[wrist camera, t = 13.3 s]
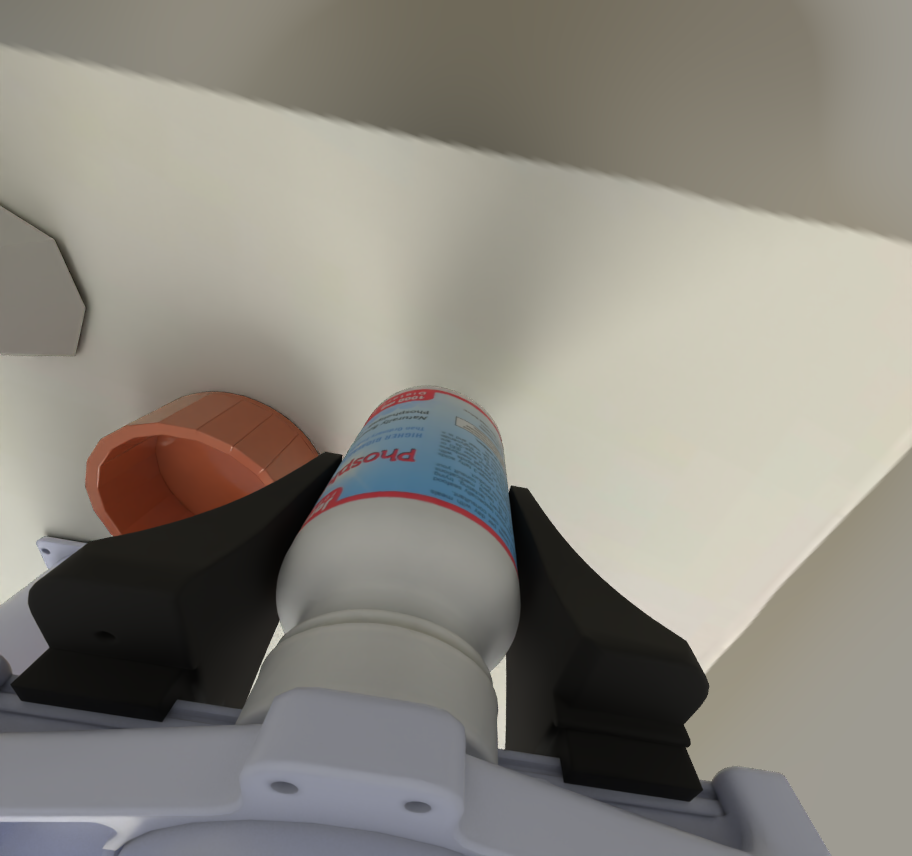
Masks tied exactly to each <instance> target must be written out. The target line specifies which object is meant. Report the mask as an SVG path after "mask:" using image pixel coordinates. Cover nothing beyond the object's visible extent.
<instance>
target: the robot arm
mask: <svg viewBox="0 0 912 856" xmlns="http://www.w3.org/2000/svg"><path fill="white" fill-rule="evenodd" d="M341 462H342V455H340V454H334V453H329V452H324V453H323V454H321V455H319V456H317V457H316V458H314V459H313V460H311V461H309V462H308V463H306V464H304V465H303V466H301V467H299V468H298V469H296V470H294V471H293V472H291V473H289V474H287V475H286V476H284V477H282V478H280V479H278V480H277V481H275V482H273V483H271V484H269V485H267V486H265V487H263V488H261V489H259V490H257V491H255V492H253V493H251V494H249V495H247V496H245V497H242V498H240V499H238V500H235V501H233V502H231V503H228V504H226V505H223V506H221V507H218V508H215V509H212V510H209V511H206V512H203V513H200V514H198V515H195V516H192V517H189V518H186V519H182V520H179V521H176V522H172V523H169V524H165V525H161V526H157V527H154V528H150V529H146V530H142V531H137V532H133V533H128V534H123V535H119V536H114V537H109V538H104V539H100V540H94V541H90V542H88V543H83V542H77V541H71V540H65V539H59V538H53V537H46V536H44V537H42V538H40V539H39V540H37V542H36V544H37V547H38V549H39V551H40V553H41V555H42V557H43V559H44V562H45V564H46V566H47V568H48V570H47V571H45V572H44V573H43V574H41V575H40V576H39V577H37V578H36V579H35V580H33V581H32V582H31V583H29V584H28V585H27V586H25V587H24V588H23V589H21V590H20V591H19V592H17V593H16V594H15V595H13V596H12V597H11V598H9V599H8V600H7V601H5V602H4V603H3V604H1V605H0V856H831V854H830V853H829V851H828V849H827V848H826V846H825V844H824V842H823V841H822V839H821V838H820V836H819V834H818V832H817V830H816V829H815V827H814V825H813V824H812V822H811V820H810V818H809V817H808V815H807V813H806V812H805V810H804V808H803V806H802V805H801V803H800V801H799V800H798V798H797V796H796V795H795V793H794V791H793V789H792V788H791V786H790V784H789V783H788V781H787V779H786V778H785V776H784V775H783V774H781V773H779V772H773V771H766V770H760V769H754V768H747V767H740V766H739V767H738V766H732V767H727V768H724V769H722V770H721V771H719V772H718V773H717V774H716V775H715V776H714V778H713V779H712V781H705V780H699V778H698V776H697V774H696V771H695V769H694V766H693V764H692V762H691V759H690V757H689V755H688V752H687V750H686V747H689V746H690V744H691V743H690V738H689V736H688V733H687V731H686V729H685V727H684V723H686V721H687V720H688V719H689V718H690V717H691V716H692V715H693V714H694V713H695V712H696V711H697V710H698V708H699V707H700V706H701V705H702V704H703V702H704V700H705V699H706V697H707V695H708V689H709V683H708V681H707V678H706V676H705V674H704V672H703V670H702V668H701V666H700V665H699V663H698V661H697V659H696V657H695V655H694V653H693V652H692V650H691V648H690V646H689V645H688V643H687V641H685V640H684V639H682V638H681V637H679V636H678V635H676V634H675V633H673V632H672V631H670V630H669V629H667V628H666V627H664V626H663V625H661V624H660V623H658V622H657V621H655V620H654V619H652V618H651V617H649V616H648V615H647V614H645V613H644V612H643V611H641V610H640V609H639V608H637V607H636V606H635V605H633V604H632V603H631V602H630V601H628V600H627V599H626V598H625V597H623V596H622V595H621V594H620V593H618V592H617V591H616V590H615V589H614V588H613V587H611V586H610V585H609V584H608V583H607V582H606V581H605V580H603V579H602V578H601V577H600V576H599V575H598V574H597V573H596V572H595V571H594V570H593V569H592V568H591V567H590V566H589V565H588V564H587V563H586V562H585V561H584V560H583V559H582V558H581V557H580V556H579V555H578V554H577V553H576V552H575V551H574V550H573V548H572V547H571V546H570V545H569V544H568V543H567V541H566V540H565V539H564V538H563V537H562V535H561V534H560V533H559V532H558V530H557V529H556V528H555V526H554V525H553V524H552V522H551V521H550V520H549V518H548V517H547V516H546V514H545V513H544V511H543V510H542V509H541V507H540V506H539V504H538V503H537V501H536V500H535V499H534V497H533V496H532V494H531V493H530V491H529V490H528V489H527V488H522V487H516V486H511V488H510V491H509V500H510V508H511V517H512V525H513V534H514V542H515V550H516V559H517V568H518V577H519V586H520V602H521V607H520V619H519V624H518V628H517V632H516V635H515V638H514V640H513V642H512V644H511V646H510V648H509V650H508V651H507V653H506V743H505V750H503V749H498V765H496V764H493V763H490V762H487V761H484V760H482V759H479V758H476V757H473V756H470V755H467V754H466V736H465V729H464V726H463V724H462V723H461V722H460V721H459V720H458V719H456V718H455V717H454V716H453V715H452V714H450V713H449V712H448V711H447V710H443V709H440V708H437V707H434V706H431V705H427V704H422V703H416V702H409V701H403V700H397V699H390V698H384V697H378V696H371V695H365V694H359V693H352V692H346V691H339V690H333V689H327V688H320V687H296V688H294V689H291V690H289V691H286V692H284V693H282V694H280V695H278V696H276V697H274V700H273V702H272V704H271V706H270V709H269V711H268V713H267V715H266V718H265V720H264V722H263V724H249V725H235V723H236V721H237V719H238V717H239V715H240V713H241V711H242V709H243V707H244V705H245V703H246V700H247V698H248V695H249V693H250V690H251V688H252V685H253V682H254V680H255V678H256V675H257V673H258V670H259V668H260V665H261V663H262V660H263V658H264V656H265V653H266V651H267V648H268V646H269V644H270V641H271V639H272V637H273V634H274V632H275V630H276V627H277V625H278V623H279V616H278V612H277V605H276V587H277V579H278V575H279V571H280V568H281V565H282V562H283V560H284V557H285V555H286V553H287V551H288V550H289V548H290V546H291V545H292V543H293V541H294V539H295V537H296V535H297V534H298V532H299V531H300V529H301V527H302V526H303V524H304V522H305V521H306V519H307V517H308V516H309V514H310V513H311V511H312V510H313V508H314V506H315V504H316V503H317V501H318V499H319V498H320V496H321V494H322V493H323V491H324V489H325V488H326V486H327V485H328V483H329V482H330V480H331V478H332V477H333V475H334V473H335V472H336V470H337V468H338V467H339V465H340V464H341Z"/></svg>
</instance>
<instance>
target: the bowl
mask: <svg viewBox="0 0 912 856" xmlns="http://www.w3.org/2000/svg"><path fill="white" fill-rule="evenodd" d="M317 456H319V455H318V453H317V451H316V449H315V448H314V446H313V445H312V444H311V442H310V441H309V439H308V438H307V437H306V436H305V435H304V434H303V432H302V431H301V430H300V429H299V428H298V427H297V426H296V425H294V424H293V423H292V422H291V421H290V420H289V419H287V418H286V417H285V416H283V415H282V414H280V413H279V412H277V411H276V410H274V409H272V408H271V407H269V406H267V405H265V404H263V403H261V402H259V401H256V400H253V399H251V398H248V397H245V396H241V395H237V394H233V393H225V392H201V393H194V394H191V395H187V396H183V397H181V398H179V399H177V400H175V401H173V402H171V403H169V404H167V405H165V406H163V407H161V408H159V409H157V410H155V411H153V412H151V413H149V414H147V415H145V416H143V417H141V418H139V419H137V420H135V421H133V422H132V423H130V424H128V425H126V426H124V427H122V428H120V429H118V430H116V431H114V432H112V433H111V434H109V435H107V436H105V437H103V438H101V439H100V441H99V442H98V444H97V445H96V447H95V448H94V450H93V451H92V453H91V454H90V456H89V458H88V459H87V462H86V478H85V487H86V490H87V493H88V496H89V499H90V502H91V505H92V507H93V510H94V511H95V513H96V514H97V516H98V517H99V519H100V520H101V521H102V523H103V524H104V525H105V527H106V528H107V530H108V531H109V532H110V534H111V535H113V537H114V536H119V535H123V534H128V533H133V532H137V531H142V530H146V529H150V528H154V527H157V526H161V525H165V524H169V523H172V522H176V521H179V520H182V519H186V518H189V517H192V516H195V515H198V514H200V513H203V512H206V511H209V510H212V509H215V508H218V507H221V506H223V505H226V504H228V503H231V502H233V501H235V500H238V499H240V498H242V497H245V496H247V495H249V494H251V493H253V492H255V491H257V490H259V489H261V488H263V487H265V486H267V485H269V484H271V483H273V482H275V481H277V480H278V479H280V478H282V477H284V476H286V475H287V474H289V473H291V472H293V471H294V470H296V469H298V468H299V467H301V466H303V465H304V464H306V463H308V462H309V461H311V460H313V459H314V458H316V457H317Z"/></svg>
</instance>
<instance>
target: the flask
mask: <svg viewBox="0 0 912 856" xmlns="http://www.w3.org/2000/svg"><path fill="white" fill-rule="evenodd" d="M85 309H86V308H85V306H84V303H83V301H82V299H81V297H80V295H79V293H78V290H77V288H76V286H75V284H74V282H73V279H72V277H71V275H70V273H69V271H68V268H67V266H66V264H65V262H64V260H63V257H62V255H61V253H60V251H59V249H58V246H57V244H56V242H55V240H54V239H53V238H51V237H49V236H48V235H46V234H45V233H43V232H41V231H40V230H38V229H37V228H35V227H33V226H32V225H30V224H29V223H27V222H25V221H24V220H22V219H21V218H19V217H17V216H16V215H14V214H13V213H11V212H9V211H8V210H6V209H5V208H3V207H1V206H0V355H6V356H75V354H76V349H77V345H78V340H79V336H80V331H81V327H82V322H83V318H84V313H85Z"/></svg>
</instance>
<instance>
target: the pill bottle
mask: <svg viewBox="0 0 912 856" xmlns="http://www.w3.org/2000/svg"><path fill="white" fill-rule="evenodd" d="M276 605H277V612H278V616H279V620H280V623H281V626H282V629H283V631H284V633H285V635H284V636H283V637H282V638H281V640H280V641H279V642H278V644H277V646H276V647H275V648H274V649H273V650H272V651H271V652H270V654H269V655H268V656H267V657H266V659H265V661H264V662H263V664H262V666H261V669H260V673H259V676H258V679H257V681H256V683H255V685H254V687H253V689H252V691H251V693H250V695H249V697H248V699H247V701H246V703H245V705H244V707H243V709H242V711H241V713H240V715H239V717H238V719H237V721H236V723H235V725H249V724H263V722H264V720H265V718H266V715H267V713H268V711H269V709H270V706H271V704H272V702H273V700H274V697H276V696H278V695H280V694H282V693H284V692H286V691H289V690H291V689H294V688H296V687H320V688H327V689H333V690H339V691H346V692H352V693H359V694H365V695H371V696H378V697H384V698H390V699H397V700H403V701H409V702H416V703H422V704H427V705H431V706H434V707H437V708H440V709H443V710H447V711H448V712H449V713H450V714H452V715H453V716H454V717H455V718H456V719H458V720H459V721H460V722H461V723H462V724H463V726H464V729H465V736H466V754H467V755H470V756H473V757H476V758H479V759H482V760H484V761H487V762H490V763H493V764H496V765H498V738H497V715H498V702H497V696H496V693H495V690H494V688H493V682H492V678H491V675H490V672H491V671H492V670H493V669H494V668H495V667H496V666H497V665H498V664H499V662H500V661H501V660H502V659H503V657H504V656H505V655H506V653H507V651H508V650H509V648H510V646H511V644H512V642H513V640H514V638H515V635H516V632H517V628H518V624H519V619H520V607H521V602H520V586H519V577H518V568H517V559H516V550H515V542H514V534H513V525H512V517H511V508H510V500H509V491H508V484H507V474H506V466H505V458H504V449H503V444H502V439H501V435H500V432H499V430H498V427H497V425H496V424H495V422H494V420H493V419H492V417H491V416H490V415H489V414H488V413H487V412H486V411H485V409H484V408H482V407H481V406H480V405H479V404H477V403H476V402H475V401H473V400H472V399H470V398H468V397H466V396H465V395H463V394H461V393H458V392H456V391H453V390H450V389H447V388H443V387H437V386H417V387H412V388H408V389H404V390H402V391H399V392H397V393H395V394H393V395H392V396H390V397H388V398H387V399H386V400H384V401H383V402H382V403H381V404H380V405H379V406H378V407H377V408H376V409H375V410H374V412H373V413H372V414H371V416H370V417H369V419H368V420H367V422H366V423H365V425H364V427H363V428H362V430H361V432H360V433H359V435H358V436H357V438H356V439H355V441H354V443H353V444H352V445H351V447H350V449H349V451H348V452H347V454H346V456H345V457H344V459H343V461H342V462H341V464H340V465H339V467H338V468H337V470H336V472H335V473H334V475H333V477H332V478H331V480H330V482H329V483H328V485H327V486H326V488H325V489H324V491H323V493H322V494H321V496H320V498H319V499H318V501H317V503H316V504H315V506H314V508H313V510H312V511H311V513H310V514H309V516H308V517H307V519H306V521H305V522H304V524H303V526H302V527H301V529H300V531H299V532H298V534H297V535H296V537H295V539H294V541H293V543H292V545H291V546H290V548H289V550H288V551H287V553H286V555H285V557H284V560H283V562H282V565H281V568H280V571H279V575H278V579H277V587H276Z"/></svg>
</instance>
